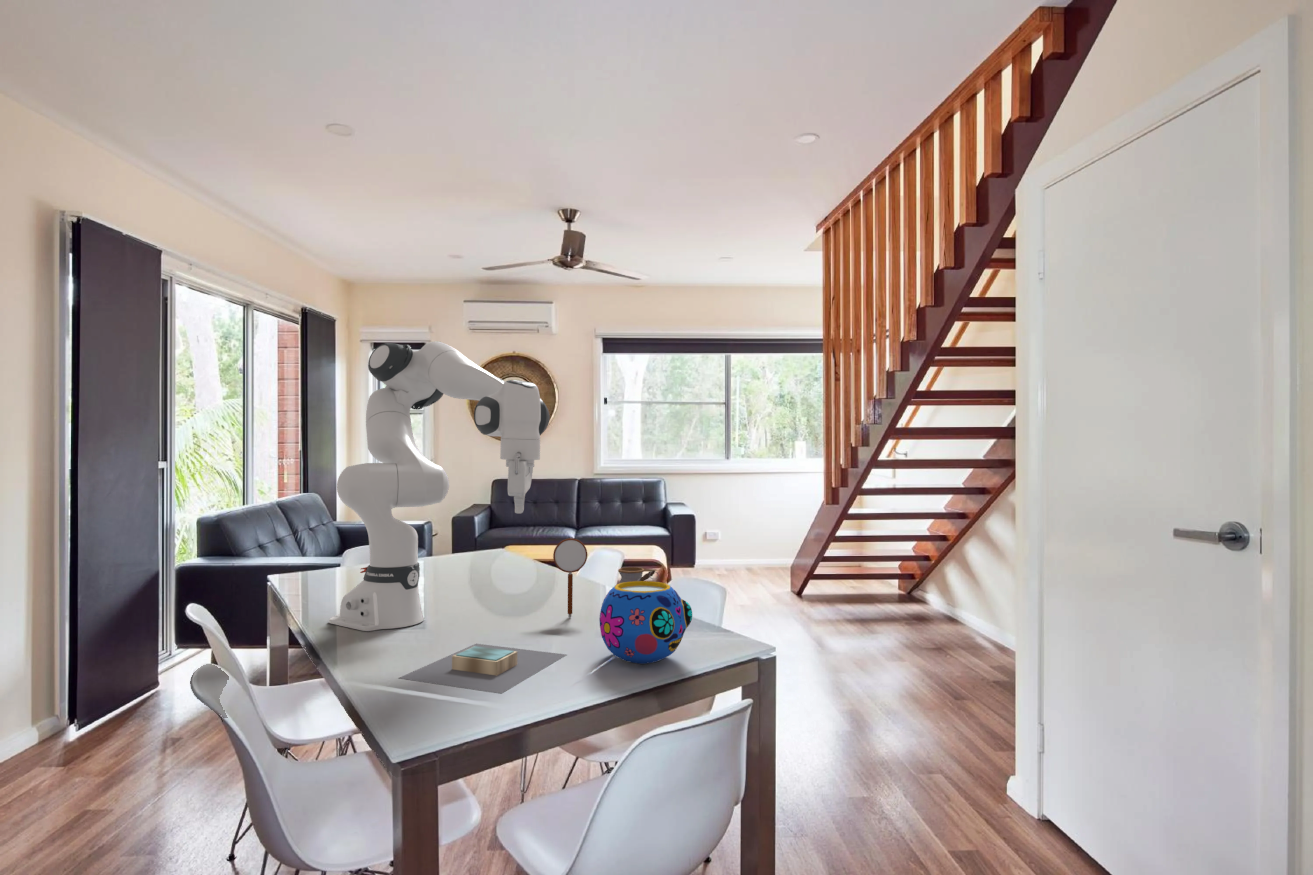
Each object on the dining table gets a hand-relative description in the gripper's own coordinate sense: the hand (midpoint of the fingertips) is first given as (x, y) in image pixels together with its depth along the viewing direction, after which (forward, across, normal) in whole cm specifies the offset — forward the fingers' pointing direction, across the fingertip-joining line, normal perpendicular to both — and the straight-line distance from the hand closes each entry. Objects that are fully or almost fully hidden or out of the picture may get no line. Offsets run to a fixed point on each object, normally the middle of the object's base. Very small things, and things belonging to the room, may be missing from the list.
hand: (519, 512), depth 156 cm
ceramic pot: (+28, -20, -27) cm, 43 cm away
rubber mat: (+28, -23, +4) cm, 36 cm away
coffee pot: (+28, +7, -28) cm, 41 cm away
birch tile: (+26, -20, +3) cm, 33 cm away
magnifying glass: (+29, +16, -12) cm, 35 cm away
